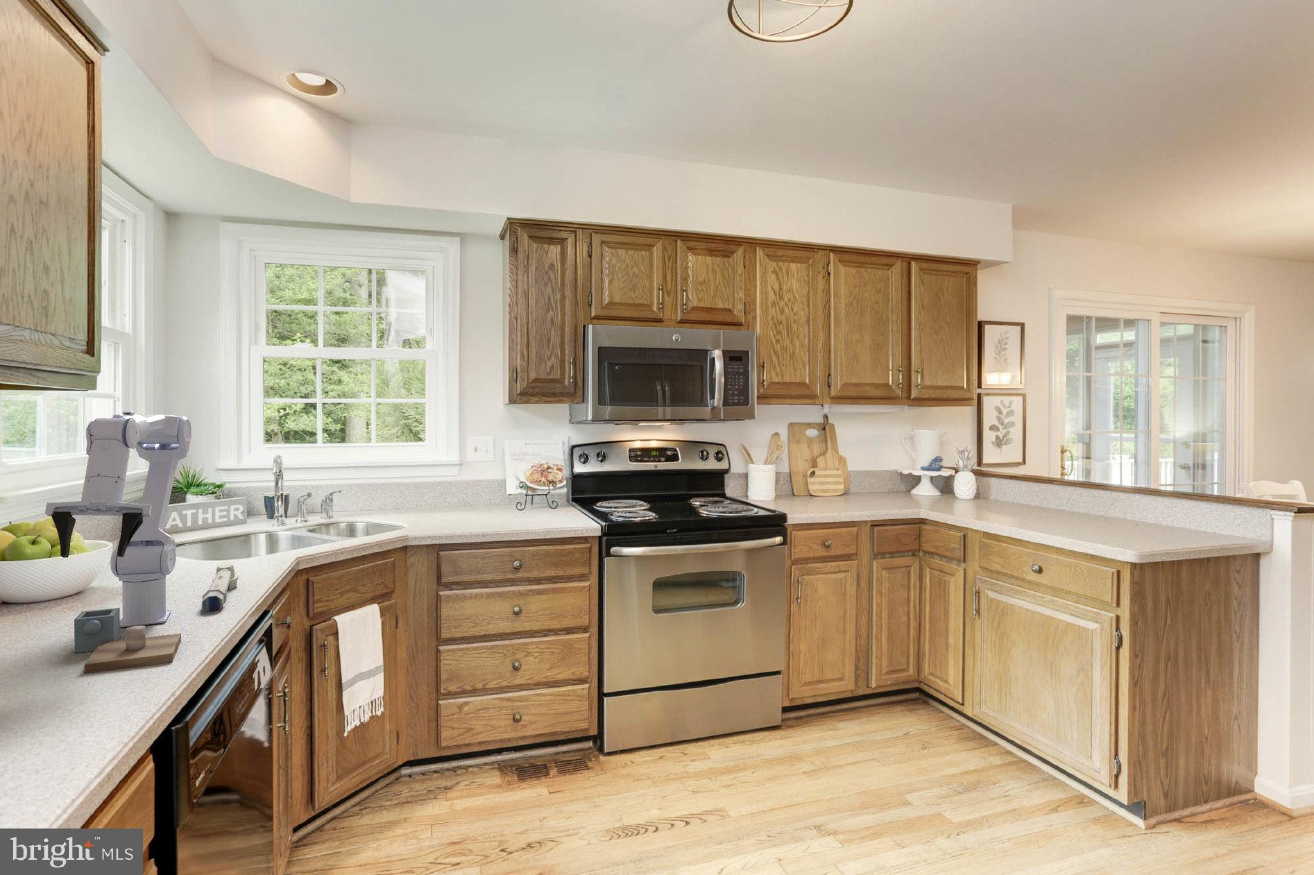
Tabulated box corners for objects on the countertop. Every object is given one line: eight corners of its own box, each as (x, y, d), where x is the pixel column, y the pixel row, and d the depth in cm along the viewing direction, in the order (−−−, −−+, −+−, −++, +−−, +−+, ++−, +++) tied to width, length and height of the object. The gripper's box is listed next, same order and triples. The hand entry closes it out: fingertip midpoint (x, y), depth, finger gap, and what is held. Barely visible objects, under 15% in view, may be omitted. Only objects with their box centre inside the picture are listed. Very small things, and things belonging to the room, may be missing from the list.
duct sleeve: (82, 643, 128) (81, 611, 128) (119, 638, 130) (119, 607, 130) (71, 656, 121) (71, 622, 121) (111, 651, 124) (111, 618, 124)
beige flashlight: (197, 596, 147) (214, 557, 169) (198, 625, 148) (215, 583, 170) (225, 594, 149) (239, 556, 172) (226, 623, 151) (239, 581, 173)
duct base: (100, 650, 124) (100, 623, 124) (181, 641, 130) (180, 614, 130) (84, 673, 114) (84, 643, 113) (172, 661, 119) (172, 633, 119)
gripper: (47, 472, 117) (31, 551, 113) (151, 476, 124) (141, 551, 119) (57, 484, 123) (42, 560, 118) (156, 487, 130) (146, 558, 125)
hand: (92, 556), depth 119 cm, fingers open, 7 cm apart
